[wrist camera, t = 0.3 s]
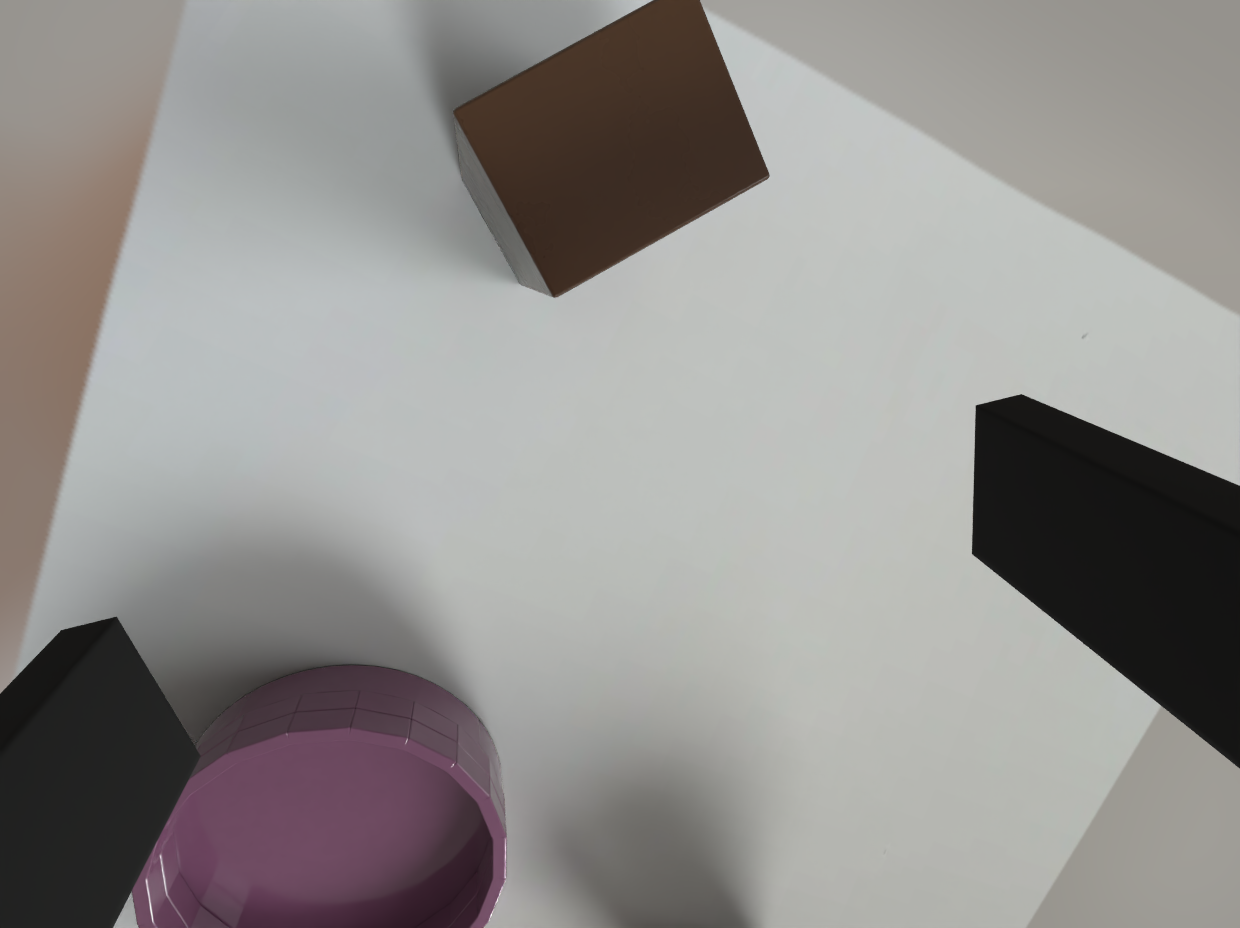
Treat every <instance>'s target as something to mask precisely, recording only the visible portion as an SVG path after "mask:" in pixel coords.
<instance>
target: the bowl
mask: <svg viewBox="0 0 1240 928" xmlns="http://www.w3.org/2000/svg"><path fill="white" fill-rule="evenodd" d="M195 747H196V749H197V751H198V752H199V754H200V756H201V757H200V759H199V761H198V763H197V765H196V767H195V768H194V770H193V772H192V774H191V776H190V778H189V780H188V782H187V784H186V786H185V788H184V790H183V792H182V794H181V796H180V798H179V800H178V802H177V804H176V806H175V807H174V809H173V811H172V813H171V815H170V817H169V819H168V821H167V823H166V825H165V827H164V829H163V831H162V833H161V835H160V837H159V839H158V841H157V843H156V845H155V846H154V848H153V850H152V852H151V854H150V856H149V858H148V860H147V862H146V864H145V866H144V868H143V870H142V872H141V874H140V876H139V878H138V880H137V882H136V883H135V885H134V887H133V889H132V896H133V902H134V908H135V914H136V920H137V925H138V927H139V928H484V926H485V925H486V924H487V923H488V921H489V920H490V918H491V916H492V913H493V911H494V908H495V906H496V903H497V901H498V898H499V896H500V893H501V891H502V888H503V886H504V883H505V881H506V857H507V833H506V818H505V799H504V793H503V783H502V773H501V766H500V761H499V757H498V754H497V751H496V748H495V745H494V743H493V741H492V739H491V737H490V735H489V733H488V731H487V730H486V729H485V727H484V726H483V724H482V723H481V721H480V720H479V719H478V717H477V716H476V715H475V714H474V713H473V712H472V711H471V710H470V709H469V708H468V707H467V706H466V705H465V704H464V703H463V702H461V701H460V700H459V699H457V698H456V697H455V696H454V695H452V694H451V693H449V692H448V691H446V690H444V689H443V688H441V687H439V686H438V685H436V684H434V683H432V682H429V681H427V680H425V679H422V678H420V677H418V676H415V675H412V674H408V673H405V672H402V671H398V670H394V669H388V668H382V667H376V666H362V665H344V666H329V667H322V668H316V669H310V670H306V671H302V672H299V673H295V674H291V675H288V676H285V677H282V678H280V679H277V680H275V681H272V682H270V683H267V684H265V685H263V686H262V687H260V688H258V689H256V690H254V691H252V692H250V693H249V694H247V695H245V696H244V697H242V698H241V699H240V700H238V701H237V702H235V703H234V704H233V705H231V706H230V707H228V708H227V709H226V710H225V711H224V712H223V713H222V714H221V715H220V716H219V717H218V718H217V719H215V720H214V721H213V722H212V724H211V725H210V726H209V727H208V729H207V730H206V731H205V732H204V733H203V735H202V736H201V737H200V739H199V740H198V742H197V744H196V745H195Z"/></svg>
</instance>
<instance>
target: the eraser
mask: <svg viewBox="0 0 1240 928" xmlns="http://www.w3.org/2000/svg"><path fill="white" fill-rule="evenodd" d="M453 115H454V123H455V130H456V138H457V146H458V154H459V161H460V169H461V177H462V181H463V183H464V184H465V186H466V188H467V190H468V192H469V193H470V195H471V197H472V199H473V201H474V202H475V204H476V206H477V208H478V210H479V211H480V213H481V215H482V217H483V219H484V220H485V222H486V224H487V226H488V227H489V229H490V231H491V233H492V235H493V236H494V238H495V240H496V242H497V244H498V245H499V247H500V249H501V251H502V253H503V254H504V256H505V258H506V260H507V262H508V263H509V265H510V267H511V269H512V271H513V272H514V274H515V276H516V278H517V280H518V281H519V283H520V284H521V285H523V286H525V287H528V288H530V289H533V290H535V291H538V292H541V293H543V294H546V295H549V296H551V297H554V298H556V297H559V296H560V295H562V294H564V293H566V292H568V291H569V290H571V289H573V288H575V287H576V286H578V285H580V284H582V283H584V282H585V281H587V280H589V279H591V278H593V277H594V276H596V275H598V274H600V273H601V272H603V271H605V270H607V269H609V268H610V267H612V266H614V265H616V264H617V263H619V262H621V261H623V260H625V259H626V258H628V257H630V256H632V255H633V254H635V253H637V252H639V251H641V250H642V249H644V248H646V247H648V246H649V245H651V244H653V243H655V242H657V241H658V240H660V239H662V238H664V237H665V236H667V235H669V234H671V233H673V232H674V231H676V230H678V229H680V228H681V227H683V226H685V225H687V224H689V223H690V222H692V221H694V220H696V219H698V218H699V217H701V216H703V215H705V214H706V213H708V212H710V211H712V210H714V209H715V208H717V207H719V206H721V205H722V204H724V203H726V202H728V201H730V200H731V199H733V198H735V197H737V196H738V195H740V194H742V193H744V192H746V191H747V190H749V189H751V188H753V187H754V186H756V185H758V184H760V183H762V182H763V181H765V180H767V179H768V178H769V172H768V170H767V167H766V165H765V162H764V160H763V157H762V155H761V152H760V150H759V147H758V145H757V142H756V140H755V137H754V135H753V132H752V130H751V127H750V125H749V122H748V120H747V117H746V115H745V112H744V110H743V107H742V105H741V102H740V100H739V97H738V95H737V92H736V90H735V87H734V85H733V82H732V80H731V77H730V75H729V72H728V70H727V67H726V65H725V62H724V60H723V57H722V55H721V52H720V50H719V47H718V45H717V42H716V40H715V37H714V35H713V32H712V30H711V27H710V25H709V22H708V20H707V17H706V15H705V12H704V10H703V7H702V5H701V2H700V0H653V1H651V2H649V3H647V4H646V5H644V6H642V7H640V8H638V9H636V10H635V11H633V12H631V13H629V14H627V15H625V16H624V17H622V18H620V19H618V20H616V21H614V22H613V23H611V24H609V25H607V26H605V27H603V28H602V29H600V30H598V31H596V32H594V33H592V34H591V35H589V36H587V37H585V38H583V39H581V40H580V41H578V42H576V43H574V44H572V45H570V46H568V47H567V48H565V49H563V50H561V51H559V52H557V53H556V54H554V55H552V56H550V57H548V58H546V59H545V60H543V61H541V62H539V63H537V64H535V65H534V66H532V67H530V68H528V69H526V70H524V71H523V72H521V73H519V74H517V75H515V76H513V77H512V78H510V79H508V80H506V81H504V82H502V83H501V84H499V85H497V86H495V87H493V88H491V89H490V90H488V91H486V92H484V93H482V94H480V95H479V96H477V97H475V98H473V99H471V100H469V101H468V102H466V103H464V104H462V105H460V106H458V107H457V108H455V109H454V110H453Z"/></svg>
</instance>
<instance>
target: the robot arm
mask: <svg viewBox="0 0 1240 928" xmlns="http://www.w3.org/2000/svg"><path fill="white" fill-rule="evenodd" d="M972 554H973V555H974V556H975V557H976V558H978V559H979V560H980V561H981V562H983V563H984V564H985V565H986V566H988V567H989V568H990V569H991V570H993V571H994V572H995V573H996V574H998V575H999V576H1000V577H1001V578H1003V579H1004V580H1005V581H1006V582H1008V583H1009V584H1010V585H1011V586H1013V587H1014V588H1015V589H1016V590H1018V591H1019V592H1020V593H1021V594H1023V595H1024V596H1025V597H1026V598H1028V599H1029V600H1030V601H1031V602H1033V603H1034V604H1035V605H1036V606H1038V607H1039V608H1040V609H1041V610H1043V611H1044V612H1045V613H1046V614H1048V615H1049V616H1050V617H1051V618H1053V619H1054V620H1055V621H1056V622H1058V623H1059V624H1060V625H1061V626H1063V627H1064V628H1065V629H1066V630H1068V631H1069V632H1070V633H1071V634H1073V635H1074V636H1075V637H1076V638H1078V639H1079V640H1080V641H1081V642H1083V643H1084V644H1085V645H1086V646H1088V647H1089V648H1090V649H1091V650H1093V651H1094V652H1095V653H1096V654H1098V655H1099V656H1100V657H1101V658H1103V659H1104V660H1105V661H1106V662H1108V663H1109V664H1110V665H1111V666H1113V667H1114V668H1115V669H1116V670H1118V671H1119V672H1120V673H1121V674H1122V675H1124V676H1125V677H1126V678H1127V679H1129V680H1130V681H1131V682H1132V683H1134V684H1135V685H1136V686H1137V687H1139V688H1140V689H1141V690H1142V691H1144V692H1145V693H1146V694H1147V695H1149V696H1150V697H1151V698H1152V699H1154V700H1155V701H1156V702H1157V703H1159V704H1160V705H1161V706H1162V707H1164V708H1165V709H1166V710H1167V711H1169V712H1170V713H1171V714H1172V715H1174V716H1175V717H1176V718H1177V719H1179V720H1180V721H1181V722H1183V723H1184V724H1185V725H1186V726H1188V727H1189V728H1190V729H1191V730H1192V731H1194V732H1195V733H1196V734H1198V735H1199V736H1200V737H1201V738H1202V739H1204V740H1205V741H1206V742H1208V743H1209V744H1210V745H1211V746H1212V747H1214V748H1215V749H1216V750H1217V751H1219V752H1220V753H1221V754H1222V755H1224V756H1225V757H1226V758H1227V759H1229V760H1230V761H1231V762H1232V763H1234V764H1235V765H1236V766H1237V767H1239V768H1240V486H1239V485H1236V484H1234V483H1231V482H1229V481H1227V480H1224V479H1222V478H1220V477H1217V476H1215V475H1212V474H1210V473H1208V472H1205V471H1203V470H1201V469H1198V468H1196V467H1193V466H1191V465H1189V464H1186V463H1184V462H1181V461H1179V460H1177V459H1174V458H1172V457H1170V456H1167V455H1165V454H1162V453H1160V452H1158V451H1155V450H1153V449H1151V448H1148V447H1146V446H1143V445H1141V444H1139V443H1136V442H1134V441H1131V440H1129V439H1127V438H1124V437H1122V436H1120V435H1117V434H1115V433H1112V432H1110V431H1108V430H1105V429H1103V428H1100V427H1098V426H1096V425H1093V424H1091V423H1089V422H1086V421H1084V420H1081V419H1079V418H1077V417H1074V416H1072V415H1070V414H1067V413H1065V412H1062V411H1060V410H1058V409H1055V408H1053V407H1050V406H1048V405H1046V404H1043V403H1041V402H1039V401H1036V400H1034V399H1031V398H1029V397H1027V396H1024V395H1022V394H1020V395H1016V396H1012V397H1008V398H1004V399H1000V400H996V401H992V402H988V403H984V404H980V405H976V419H975V458H974V497H973V535H972ZM200 757H201V756H200V754H199V752H198V751H197V749H196V747H195V746H194V744H193V742H192V741H191V739H190V737H189V736H188V734H187V732H186V731H185V729H184V728H183V726H182V724H181V723H180V721H179V719H178V718H177V716H176V714H175V713H174V711H173V709H172V708H171V706H170V704H169V703H168V701H167V699H166V698H165V696H164V694H163V693H162V691H161V689H160V688H159V686H158V684H157V683H156V681H155V679H154V678H153V676H152V674H151V673H150V671H149V669H148V668H147V666H146V665H145V663H144V661H143V660H142V658H141V656H140V655H139V653H138V651H137V650H136V648H135V646H134V645H133V643H132V641H131V640H130V638H129V636H128V635H127V633H126V631H125V630H124V628H123V626H122V625H121V623H120V621H119V620H118V618H117V617H113V618H109V619H105V620H101V621H97V622H93V623H89V624H85V625H81V626H76V627H72V628H68V629H64V630H61V631H60V632H59V633H58V634H57V635H56V636H55V637H54V638H53V639H52V640H51V642H50V643H49V644H48V645H47V646H46V647H45V648H44V649H43V650H42V651H41V652H40V653H39V654H38V655H37V656H36V657H35V658H34V659H33V660H32V661H31V662H30V663H29V664H28V665H27V666H26V668H25V669H24V670H23V671H22V672H21V673H20V674H19V675H18V676H17V677H16V678H15V679H14V680H13V681H12V682H11V683H10V684H9V685H8V686H7V687H6V688H5V689H4V690H3V692H2V693H1V694H0V928H113V926H114V924H115V922H116V921H117V919H118V917H119V915H120V913H121V911H122V909H123V907H124V905H125V903H126V901H127V899H128V897H129V895H130V893H131V891H132V889H133V887H134V885H135V883H136V882H137V880H138V878H139V876H140V874H141V872H142V870H143V868H144V866H145V864H146V862H147V860H148V858H149V856H150V854H151V852H152V850H153V848H154V846H155V845H156V843H157V841H158V839H159V837H160V835H161V833H162V831H163V829H164V827H165V825H166V823H167V821H168V819H169V817H170V815H171V813H172V811H173V809H174V807H175V806H176V804H177V802H178V800H179V798H180V796H181V794H182V792H183V790H184V788H185V786H186V784H187V782H188V780H189V778H190V776H191V774H192V772H193V770H194V768H195V767H196V765H197V763H198V761H199V759H200Z"/></svg>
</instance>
